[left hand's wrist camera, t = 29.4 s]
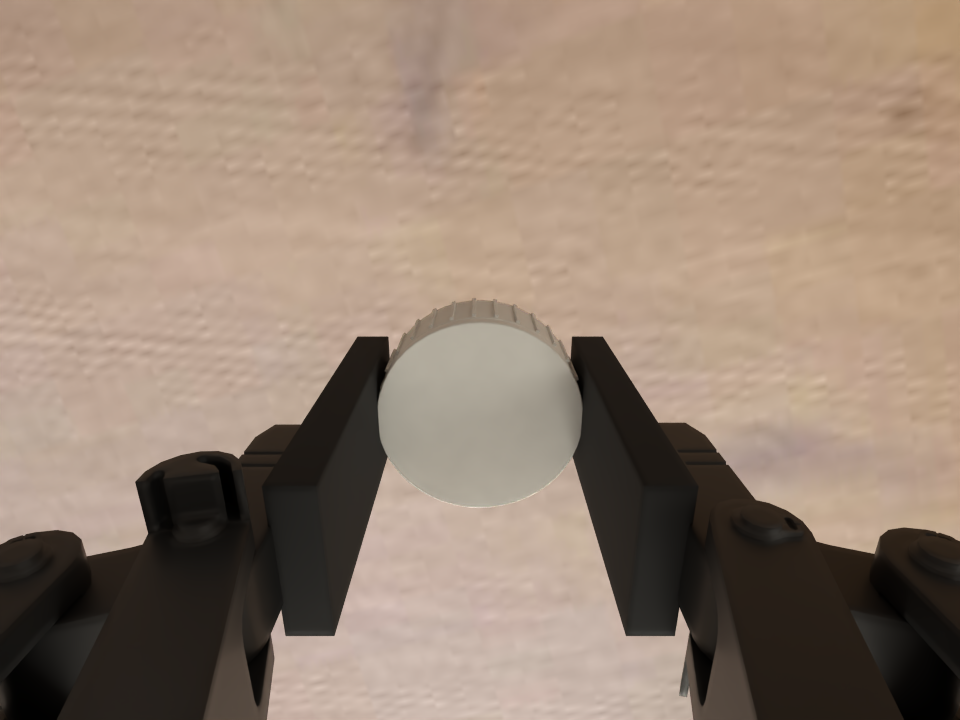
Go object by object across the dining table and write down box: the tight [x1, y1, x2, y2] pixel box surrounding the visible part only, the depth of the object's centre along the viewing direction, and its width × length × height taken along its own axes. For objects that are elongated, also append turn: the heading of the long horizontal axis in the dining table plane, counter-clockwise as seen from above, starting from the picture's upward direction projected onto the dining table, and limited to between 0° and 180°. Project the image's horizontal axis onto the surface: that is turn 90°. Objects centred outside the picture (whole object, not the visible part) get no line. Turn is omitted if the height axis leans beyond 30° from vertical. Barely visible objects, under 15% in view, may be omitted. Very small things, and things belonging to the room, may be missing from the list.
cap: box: [378, 298, 583, 508], centre depth 13 cm, size 5×5×2 cm
